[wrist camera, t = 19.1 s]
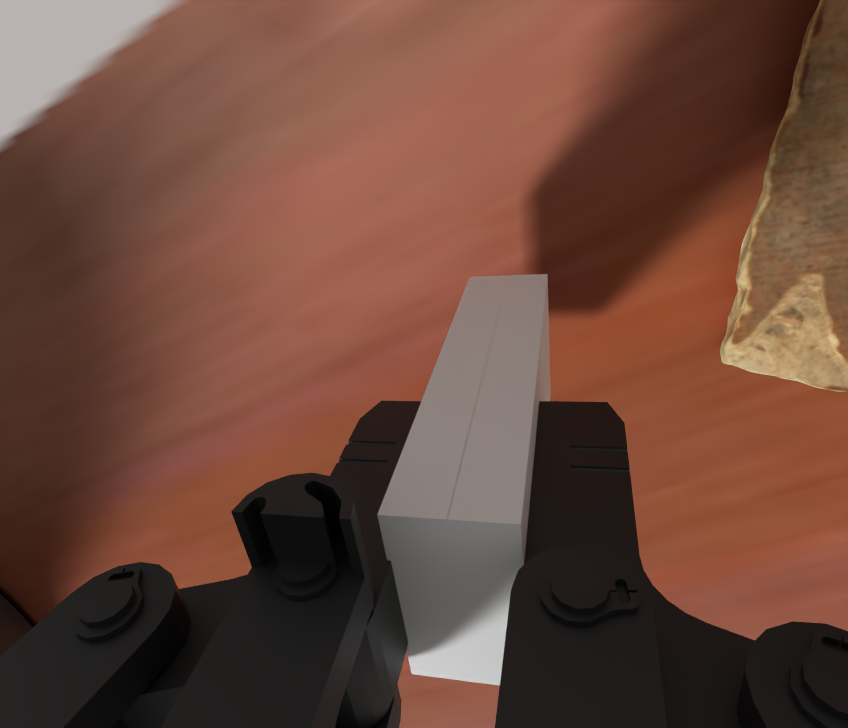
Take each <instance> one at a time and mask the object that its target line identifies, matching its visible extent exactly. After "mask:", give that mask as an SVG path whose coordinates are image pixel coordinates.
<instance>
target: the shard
mask: <svg viewBox="0 0 848 728" xmlns="http://www.w3.org/2000/svg"><path fill="white" fill-rule="evenodd" d="M736 282H737V287H738V292H737V294H736V297H735V300H734V303H733V306H732V309H731V311H730V314H729V316H728V326H727V331H726V336H725V338H724V340H723V341H722V344H721V348H720V353H721V360H722V362H723V363H724V364H729V365H734V366H737V367H740V368H742V369H745V370H747V371H750V372H754V373H759V374H765V375H772V376H777V377H780V378H783V379H788V380H794V381H799V382H802V383H805V384H807V385H810V386H813V387H816V388H821V389H827V390H832V391H838V392H843V391H848V0H820V3H819V5H818V7H817V9H816V11H815V13H814V15H813V17H812V19H811V20H810V22H809V25H808V27H807V30H806V33H805V36H804V39H803V44H802V48H801V52H800V56H799V60H798V63H797V66H796V69H795V72H794V75H793V86H792V90H791V94H790V99H789V103H788V107H787V110H786V112H785V115H784V117H783V119H782V121H781V124H780V126H779V128H778V131H777V134H776V137H775V140H774V142H773V144H772V147H771V149H770V155H769V160H768V164H767V167H766V170H765V173H764V180H763V189H762V192H761V196H760V199H759V202H758V204H757V206H756V208H755V211H754V213H753V215H752V219H751V223H750V225H749V227H748V229H747V232H746V235H745V237H744V240H743V242H742V246H741V251H740V258H739V265H738V270H737V274H736Z"/></svg>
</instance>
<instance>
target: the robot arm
mask: <svg viewBox="0 0 848 728" xmlns="http://www.w3.org/2000/svg"><path fill="white" fill-rule="evenodd" d="M232 515H233V517H234V520H235V523H236V525H237V528H238V531H239V533H240V536H241V539H242V541H243V544H244V547H245V549H246V552H247V555H248V557H249V560H250V563H251V565H252V568H251V570H250V572H249V573H248V575H245V576H241V577H237V578H234V579H230V580H225V581H220V582H214V583H209V584H204V585H199V586H194V587H188V588H183V589H178V587H177V585H176V583H175V581H174V578H173V576H172V574H171V573H169V572H168V571H167V570H165V569H164V568H163V567H161V566H160V565H157V564H150V563H143V562H139V563H134V564H128V565H123V566H118V567H116V568H113V569H111V570H109V571H107V572H104V573H102V574H100V575H98V576H95V577H94V578H92V579H91V580H89V581H88V582H87V583H85V584H84V585H82V586H81V587H80V588H78V589H77V590H75V591H74V592H73V593H71V594H70V595H69V596H68V597H67V598H66V599H65V600H63V601H62V602H61V603H60V604H59V605H58V606H57V607H56V608H54V609H53V610H52V611H51V612H50V613H49V614H48V615H47V616H45V617H44V618H43V619H42V620H41V621H40V622H39V623H38V624H36V625H35V626H34V627H32V626H31V625H30V624H29V623H28V621H27V620H26V619H25V618H24V617H23V616H22V615H21V614H20V613H19V612H18V611H17V610H16V609H15V608H14V607H13V606H12V605H11V604H10V603H9V602H8V601H7V600H6V599H5V598H4V597H3V596H2V595H1V594H0V728H399V724H400V716H401V698H400V694H399V690H398V685H397V683H398V679H399V675H400V672H401V668H402V664H403V660H404V656H405V653H406V650H407V655H408V659H409V664H410V668H411V673H412V674H416V675H424V676H431V677H439V678H447V679H454V680H462V681H470V682H477V683H485V684H492V685H500V689H499V698H498V706H497V715H496V724H495V728H848V631H845V630H842V629H839V628H836V627H833V626H830V625H828V624H822V623H806V622H790V623H786V624H783V625H780V626H776V627H773V628H770V629H766V630H765V631H764V632H763V633H762V634H761V635H760V636H759V637H758V638H757V639H756V640H752V639H749V638H746V637H744V636H741V635H738V634H735V633H733V632H730V631H727V630H724V629H722V628H719V627H716V626H713V625H711V624H708V623H706V622H704V621H702V620H699V619H697V618H695V617H693V616H691V615H689V614H686V613H685V612H683V611H682V610H680V609H679V608H678V607H676V606H675V605H673V604H672V603H670V602H669V601H668V600H666V599H665V597H664V596H663V595H662V594H661V593H660V592H659V591H658V590H657V589H656V588H655V587H654V586H653V585H652V583H651V582H650V580H649V578H648V577H647V575H646V573H645V572H644V570H643V567H642V563H641V559H640V556H639V548H638V539H637V530H636V522H635V513H634V504H633V495H632V486H631V477H630V473H629V460H628V452H627V442H626V433H625V424H624V422H623V421H622V420H621V418H620V417H619V416H618V415H617V413H616V412H615V411H614V410H613V409H612V407H611V406H610V405H609V404H608V402H559V401H550V354H549V313H548V274H532V275H504V276H475V277H470V278H469V280H468V283H467V285H466V288H465V290H464V293H463V296H462V298H461V301H460V303H459V306H458V308H457V311H456V314H455V316H454V319H453V321H452V324H451V326H450V329H449V332H448V334H447V337H446V339H445V342H444V344H443V347H442V350H441V352H440V355H439V357H438V360H437V363H436V365H435V368H434V370H433V373H432V375H431V378H430V381H429V383H428V386H427V388H426V391H425V393H424V396H423V399H422V401H421V402H419V401H381V402H379V403H378V404H377V405H376V406H375V407H373V408H372V409H371V410H370V411H369V412H367V413H366V414H365V415H364V416H363V417H362V418H360V419H359V421H358V423H357V425H356V427H355V429H354V431H353V433H352V435H351V437H350V439H349V444H348V445H346V446H345V448H344V450H343V452H342V454H341V456H340V458H339V463H337V464H336V466H335V468H334V469H333V471H332V473H331V475H330V476H326V475H321V474H316V473H306V474H295V475H288V476H285V477H282V478H280V479H277V480H274V481H271V482H268V483H266V484H264V485H263V486H261V487H259V488H258V489H256V490H254V491H253V492H251V493H250V494H248V495H247V496H246V497H245V498H244V499H243V500H242V501H241V502H240V503H239V504H238V505H237V506H236V507H235V508H234V509H233V510H232Z"/></svg>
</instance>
